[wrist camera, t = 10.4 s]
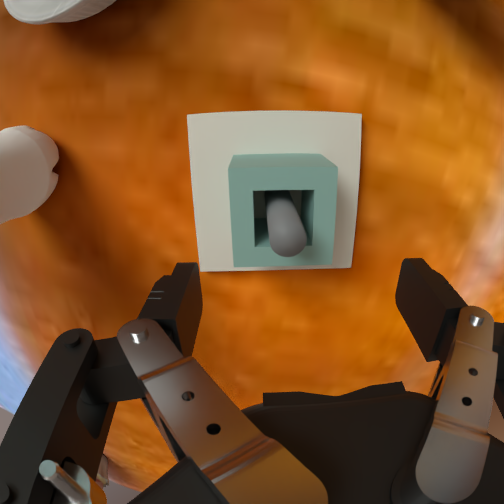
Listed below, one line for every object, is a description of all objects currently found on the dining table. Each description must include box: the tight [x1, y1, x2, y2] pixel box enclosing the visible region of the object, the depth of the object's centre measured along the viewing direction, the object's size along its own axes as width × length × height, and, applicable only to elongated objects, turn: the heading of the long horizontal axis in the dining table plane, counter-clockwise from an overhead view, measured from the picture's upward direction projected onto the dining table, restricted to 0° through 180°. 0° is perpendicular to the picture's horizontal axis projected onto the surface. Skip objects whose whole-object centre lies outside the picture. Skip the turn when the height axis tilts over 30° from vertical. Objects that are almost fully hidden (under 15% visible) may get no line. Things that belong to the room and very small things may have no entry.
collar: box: [228, 153, 338, 267], centre depth 21 cm, size 6×6×5 cm
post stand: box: [187, 111, 362, 272], centre depth 20 cm, size 12×12×9 cm
